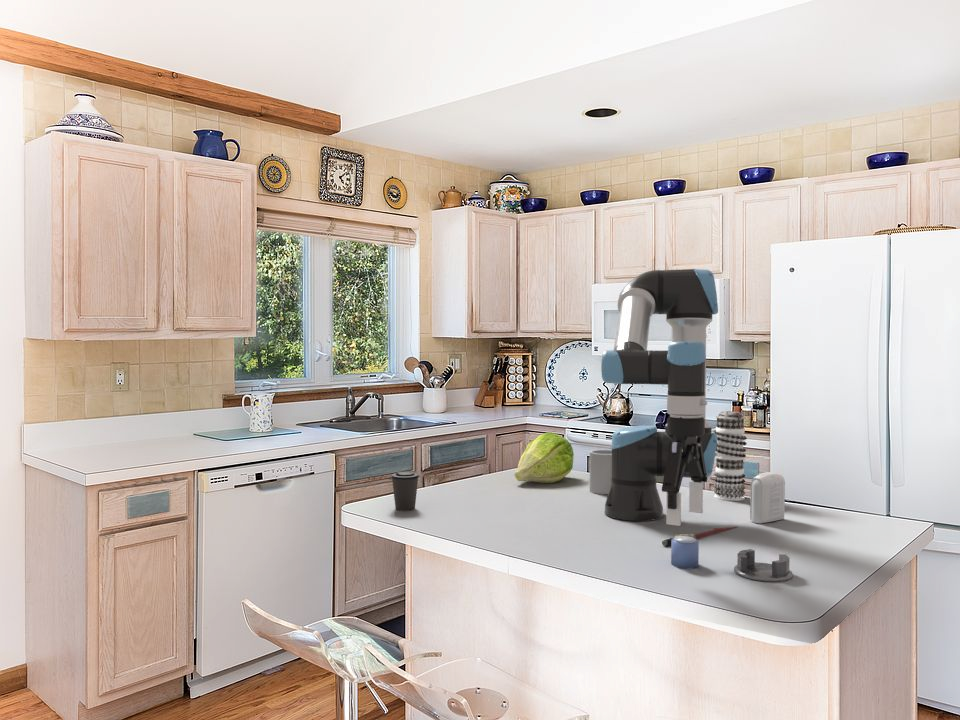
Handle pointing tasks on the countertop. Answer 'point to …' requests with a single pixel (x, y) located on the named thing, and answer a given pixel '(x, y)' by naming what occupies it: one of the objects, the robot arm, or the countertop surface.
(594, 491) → the cup
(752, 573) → the disc
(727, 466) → the decorative candle
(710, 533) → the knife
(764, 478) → the photo printer
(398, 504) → the coffee cup
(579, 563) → the countertop surface
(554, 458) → the lettuce
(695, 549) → the blue dome-topped cylinder
